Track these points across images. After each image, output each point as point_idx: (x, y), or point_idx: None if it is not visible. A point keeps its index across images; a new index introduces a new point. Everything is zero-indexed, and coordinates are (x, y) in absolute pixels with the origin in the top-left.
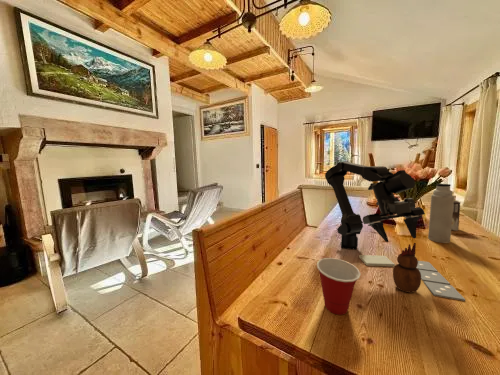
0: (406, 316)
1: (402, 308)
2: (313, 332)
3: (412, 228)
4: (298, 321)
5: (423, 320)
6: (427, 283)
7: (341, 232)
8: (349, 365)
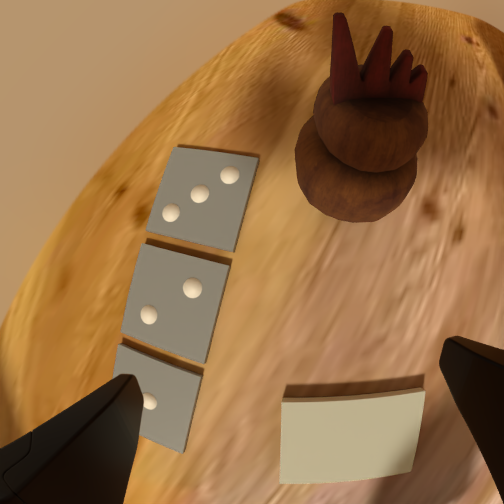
0: None
1: None
2: None
3: (76, 452)
4: None
5: (361, 62)
6: (229, 232)
7: None
8: (485, 23)
